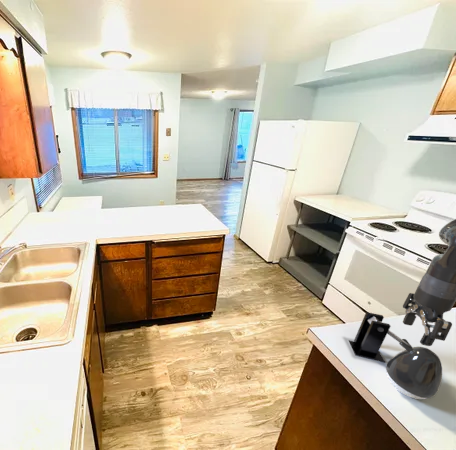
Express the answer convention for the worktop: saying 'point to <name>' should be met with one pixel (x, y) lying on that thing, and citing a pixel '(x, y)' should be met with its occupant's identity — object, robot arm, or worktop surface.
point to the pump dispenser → (415, 372)
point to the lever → (390, 332)
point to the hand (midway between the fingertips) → (415, 333)
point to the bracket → (370, 338)
